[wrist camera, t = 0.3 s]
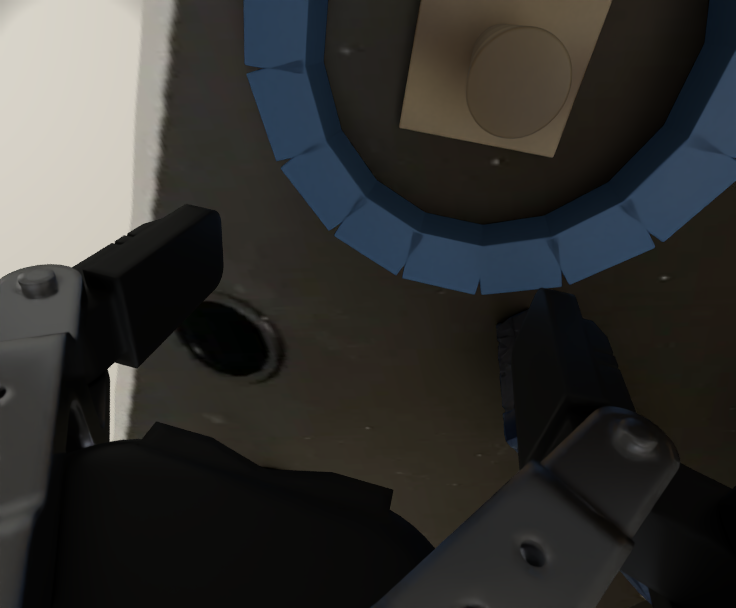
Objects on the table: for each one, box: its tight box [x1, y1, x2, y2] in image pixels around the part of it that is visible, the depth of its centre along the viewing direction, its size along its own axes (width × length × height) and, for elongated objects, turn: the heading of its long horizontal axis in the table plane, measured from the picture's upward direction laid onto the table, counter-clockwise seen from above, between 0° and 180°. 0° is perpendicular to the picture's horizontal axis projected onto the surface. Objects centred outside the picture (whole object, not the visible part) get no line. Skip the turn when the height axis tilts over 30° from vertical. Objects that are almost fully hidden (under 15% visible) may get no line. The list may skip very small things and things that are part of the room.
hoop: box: [244, 0, 736, 295], centre depth 20 cm, size 23×23×3 cm
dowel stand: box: [399, 0, 612, 158], centre depth 16 cm, size 8×8×13 cm
